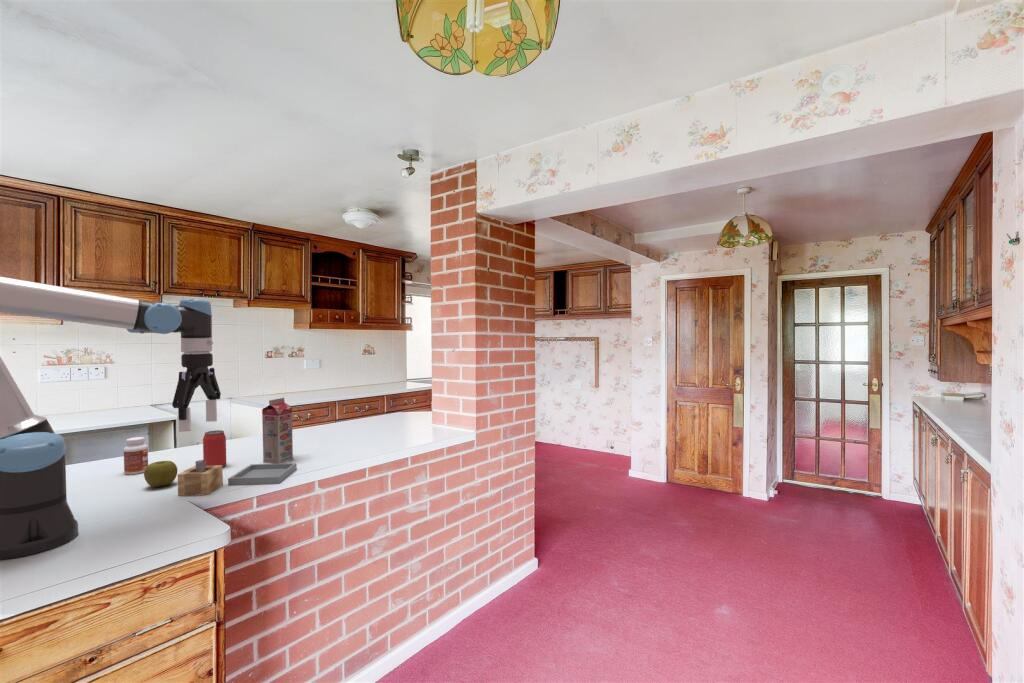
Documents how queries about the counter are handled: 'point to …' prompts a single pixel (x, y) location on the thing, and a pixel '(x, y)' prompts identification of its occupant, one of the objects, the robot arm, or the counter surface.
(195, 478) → the oak ring
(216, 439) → the beer can
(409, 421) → the counter surface
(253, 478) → the tray
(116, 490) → the counter surface
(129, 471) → the pill bottle
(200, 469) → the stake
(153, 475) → the apple
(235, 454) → the counter surface
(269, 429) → the juice carton
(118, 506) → the counter surface
